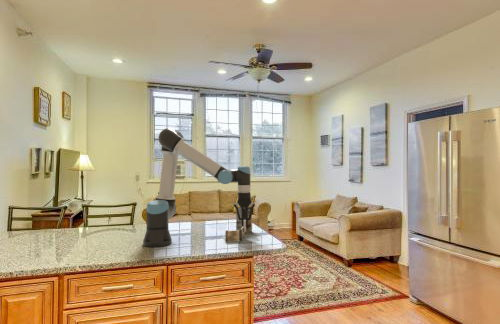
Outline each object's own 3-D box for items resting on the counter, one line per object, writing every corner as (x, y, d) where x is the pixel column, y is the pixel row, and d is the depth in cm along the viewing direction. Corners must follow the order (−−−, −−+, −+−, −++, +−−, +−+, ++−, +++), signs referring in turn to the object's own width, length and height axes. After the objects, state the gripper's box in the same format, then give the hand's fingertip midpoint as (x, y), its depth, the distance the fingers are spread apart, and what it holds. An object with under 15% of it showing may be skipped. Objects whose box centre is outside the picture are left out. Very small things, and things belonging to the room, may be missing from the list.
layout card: (225, 243, 176) (225, 242, 176) (221, 236, 192) (221, 235, 192) (260, 241, 180) (260, 240, 180) (253, 235, 196) (253, 234, 196)
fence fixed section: (225, 241, 178) (225, 230, 178) (225, 241, 180) (225, 230, 180) (242, 240, 180) (242, 229, 181) (241, 240, 182) (241, 229, 182)
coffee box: (243, 233, 200) (243, 208, 201) (235, 232, 204) (235, 207, 204) (252, 231, 208) (252, 206, 208) (244, 230, 212) (244, 205, 212)
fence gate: (242, 239, 182) (242, 229, 182) (239, 239, 182) (239, 229, 182) (244, 235, 192) (244, 226, 192) (242, 235, 192) (242, 226, 192)
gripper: (254, 191, 193) (255, 230, 193) (233, 191, 192) (233, 230, 192) (255, 192, 185) (255, 232, 185) (233, 192, 184) (234, 233, 184)
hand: (244, 231), depth 188 cm, fingers closed
